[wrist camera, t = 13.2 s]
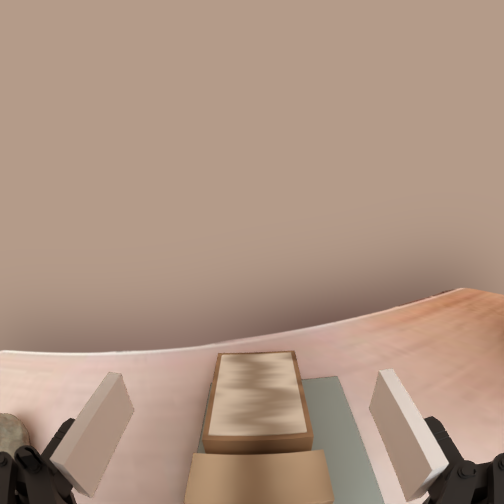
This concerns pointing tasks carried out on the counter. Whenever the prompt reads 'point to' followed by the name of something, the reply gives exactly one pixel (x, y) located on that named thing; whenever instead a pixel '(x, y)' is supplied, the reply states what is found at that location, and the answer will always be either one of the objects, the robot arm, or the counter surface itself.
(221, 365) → the slab
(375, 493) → the mat
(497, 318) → the counter surface
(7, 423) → the elongated rock
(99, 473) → the robot arm
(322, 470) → the tan wooden block
